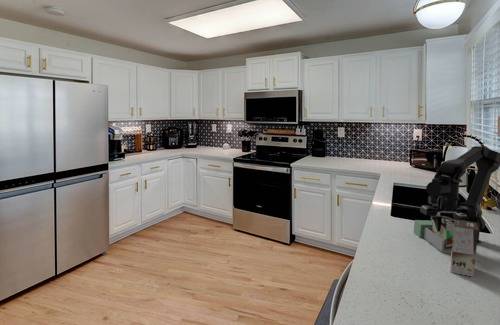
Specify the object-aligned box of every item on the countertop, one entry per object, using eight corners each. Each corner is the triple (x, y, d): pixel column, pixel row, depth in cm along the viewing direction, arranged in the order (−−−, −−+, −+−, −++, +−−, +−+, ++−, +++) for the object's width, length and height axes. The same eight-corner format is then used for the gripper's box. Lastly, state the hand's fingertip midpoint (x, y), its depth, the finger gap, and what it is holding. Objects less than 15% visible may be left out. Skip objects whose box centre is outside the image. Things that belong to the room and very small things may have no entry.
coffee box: (473, 278, 95) (479, 230, 93) (449, 272, 98) (454, 226, 96) (472, 266, 102) (477, 222, 100) (450, 261, 106) (454, 218, 104)
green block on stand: (441, 233, 133) (442, 220, 132) (471, 254, 112) (473, 239, 111) (413, 232, 134) (414, 220, 133) (438, 252, 113) (439, 237, 112)
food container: (465, 249, 113) (464, 224, 112) (448, 250, 114) (447, 225, 112) (446, 236, 125) (445, 213, 124) (431, 237, 126) (430, 215, 124)
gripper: (461, 189, 124) (458, 225, 126) (415, 188, 125) (412, 224, 128) (479, 196, 113) (475, 235, 115) (428, 195, 114) (425, 233, 117)
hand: (445, 231), depth 119 cm, fingers closed on food container, 6 cm apart
